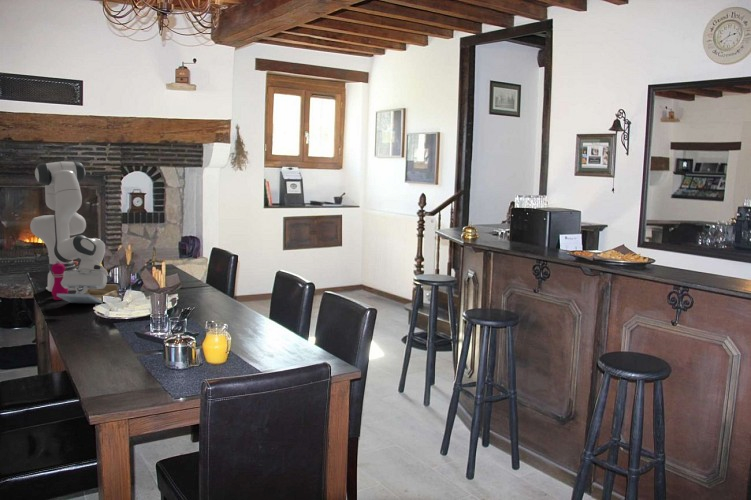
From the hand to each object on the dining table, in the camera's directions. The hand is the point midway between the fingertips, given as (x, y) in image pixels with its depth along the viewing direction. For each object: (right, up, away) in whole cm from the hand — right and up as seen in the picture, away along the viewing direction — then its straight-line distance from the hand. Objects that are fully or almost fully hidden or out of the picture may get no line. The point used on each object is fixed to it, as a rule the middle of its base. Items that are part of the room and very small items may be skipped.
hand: (79, 295), depth 299 cm
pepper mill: (-17, -4, +17) cm, 24 cm away
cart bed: (+1, -4, +16) cm, 17 cm away
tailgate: (0, -4, +8) cm, 9 cm away
